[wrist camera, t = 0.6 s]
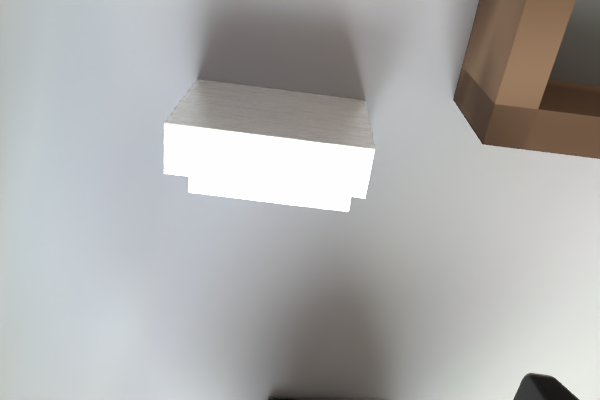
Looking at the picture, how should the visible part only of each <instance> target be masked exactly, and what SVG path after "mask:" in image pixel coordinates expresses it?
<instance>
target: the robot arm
mask: <svg viewBox="0 0 600 400" xmlns="http://www.w3.org/2000/svg"><path fill="white" fill-rule="evenodd" d="M269 400H288V399H279V398H273V399H269ZM513 400H579V399H578V398H577V397H576V396H575V395H573V394H572V393H571V392H570V391H569V390H568V389H567V388H566V387H564V386H563V385H562V384H561V383H560V382H559V381H558V380H557V379H555V378H554V377H552V376H549V375H543V374H535V373H529V374H526V375H525V376H524V378H523V379H522V382H521V384H520V386H519V388H518V391H517V393H516V395H515V397H514V399H513Z"/></svg>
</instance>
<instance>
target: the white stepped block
mask: <svg viewBox="0 0 600 400" xmlns="http://www.w3.org/2000/svg"><path fill="white" fill-rule="evenodd" d="M374 153H375V146H374V141H373V136H372V131H371V125H370V120H369V115H368V110H367V105H366V100H359V99H351V98H343V97H335V96H327V95H319V94H311V93H304V92H296V91H288V90H280V89H272V88H264V87H256V86H248V85H240V84H232V83H225V82H217V81H209V80H201V79H197V80H196V81H195V82H194V83H193V85H192V86H191V87H190V89H189V90H188V91H187V93H186V94H185V95H184V97H183V98H182V99H181V101H180V102H179V103H178V104H177V106H176V107H175V108H174V110H173V111H172V112H171V114H170V115H169V116H168V118H167V119H166V120H165V122H164V174H172V175H180V176H188V177H189V189H188V192H190V193H198V194H206V195H214V196H222V197H230V198H238V199H246V200H254V201H262V202H270V203H279V204H287V205H295V206H303V207H311V208H319V209H327V210H335V211H343V212H349V207H350V202H351V197H357V198H366V193H367V188H368V183H369V178H370V173H371V168H372V163H373V158H374Z"/></svg>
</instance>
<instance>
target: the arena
mask: <svg viewBox="0 0 600 400" xmlns="http://www.w3.org/2000/svg"><path fill="white" fill-rule="evenodd" d="M453 100H454V102H455V103H456V105H457V106H458V108H459V109H460V111H461V112H462V114H463V115H464V117H465V118H466V120H467V121H468V123H469V124H470V126H471V127H472V129H473V130H474V132H475V133H476V135H477V136H478V138H479V139H480V141H481V142H482V144H485V145H493V146H501V147H509V148H517V149H525V150H533V151H542V152H550V153H558V154H566V155H574V156H582V157H590V158H598V159H600V0H479V4H478V8H477V12H476V16H475V19H474V23H473V27H472V31H471V35H470V38H469V42H468V46H467V50H466V54H465V57H464V61H463V65H462V69H461V73H460V76H459V80H458V84H457V88H456V92H455V95H454V99H453Z"/></svg>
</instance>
